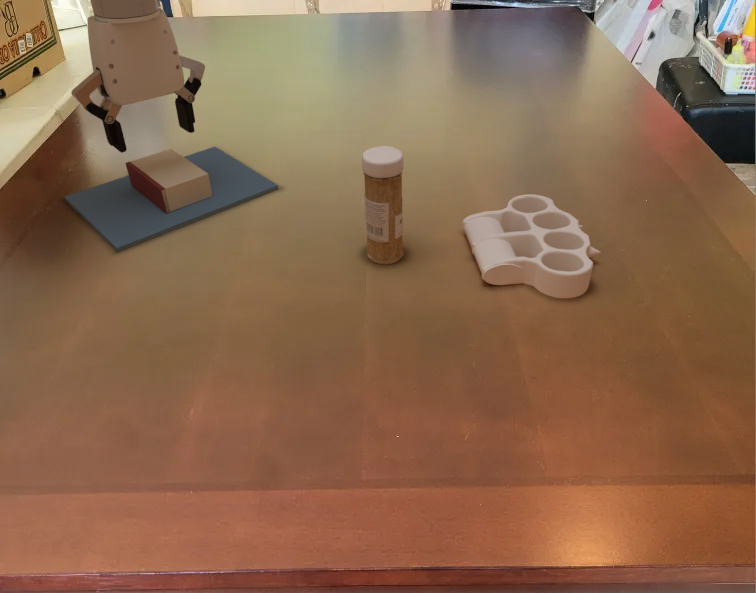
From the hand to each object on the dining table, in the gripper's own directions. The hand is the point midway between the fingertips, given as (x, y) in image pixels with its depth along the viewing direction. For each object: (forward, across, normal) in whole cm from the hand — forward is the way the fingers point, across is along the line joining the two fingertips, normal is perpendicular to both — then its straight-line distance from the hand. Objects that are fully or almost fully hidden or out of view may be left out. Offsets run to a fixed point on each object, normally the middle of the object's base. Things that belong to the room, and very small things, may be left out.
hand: (154, 139), depth 88 cm
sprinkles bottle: (+8, -13, +32) cm, 36 cm away
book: (+8, -1, 0) cm, 8 cm away
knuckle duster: (+8, -26, +44) cm, 52 cm away
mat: (+9, -1, 0) cm, 9 cm away
